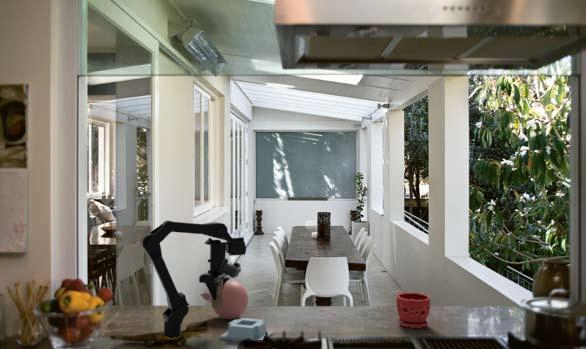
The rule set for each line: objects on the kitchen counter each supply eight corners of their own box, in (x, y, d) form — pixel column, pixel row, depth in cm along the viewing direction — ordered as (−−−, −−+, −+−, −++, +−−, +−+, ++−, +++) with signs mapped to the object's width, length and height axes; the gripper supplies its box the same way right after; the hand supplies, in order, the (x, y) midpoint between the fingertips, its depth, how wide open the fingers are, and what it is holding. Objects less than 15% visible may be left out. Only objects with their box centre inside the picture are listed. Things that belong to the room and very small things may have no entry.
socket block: (261, 343, 176) (261, 328, 176) (219, 339, 181) (219, 325, 181) (272, 334, 188) (273, 320, 188) (233, 330, 192) (233, 317, 192)
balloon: (204, 313, 219) (205, 277, 220) (250, 314, 218) (251, 278, 218) (195, 322, 204) (196, 283, 204) (244, 323, 202) (245, 284, 203)
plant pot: (389, 324, 204) (389, 294, 205) (415, 320, 210) (415, 291, 211) (411, 332, 193) (411, 300, 193) (437, 328, 199) (437, 297, 199)
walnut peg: (219, 308, 186) (220, 280, 186) (209, 307, 187) (210, 280, 187) (224, 306, 189) (224, 279, 190) (214, 305, 190) (214, 278, 191)
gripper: (227, 260, 177) (226, 305, 177) (247, 254, 195) (246, 295, 195) (198, 259, 181) (198, 303, 180) (220, 253, 198) (220, 293, 198)
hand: (217, 298), depth 188 cm, fingers closed on walnut peg, 4 cm apart
